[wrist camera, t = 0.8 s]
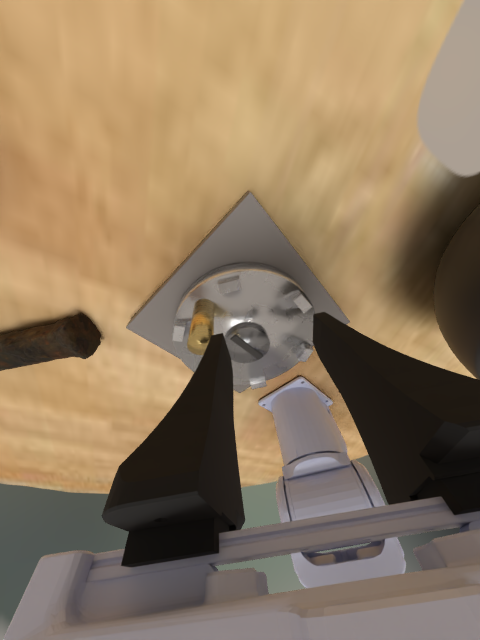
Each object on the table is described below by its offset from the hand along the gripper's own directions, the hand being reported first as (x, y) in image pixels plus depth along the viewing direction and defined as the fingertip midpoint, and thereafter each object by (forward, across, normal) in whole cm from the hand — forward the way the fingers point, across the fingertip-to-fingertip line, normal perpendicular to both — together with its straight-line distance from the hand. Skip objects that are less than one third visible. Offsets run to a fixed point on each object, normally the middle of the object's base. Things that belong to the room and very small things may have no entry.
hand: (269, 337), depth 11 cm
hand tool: (+10, +26, +2) cm, 28 cm away
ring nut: (+8, +2, +5) cm, 9 cm away
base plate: (+9, +2, +5) cm, 11 cm away
